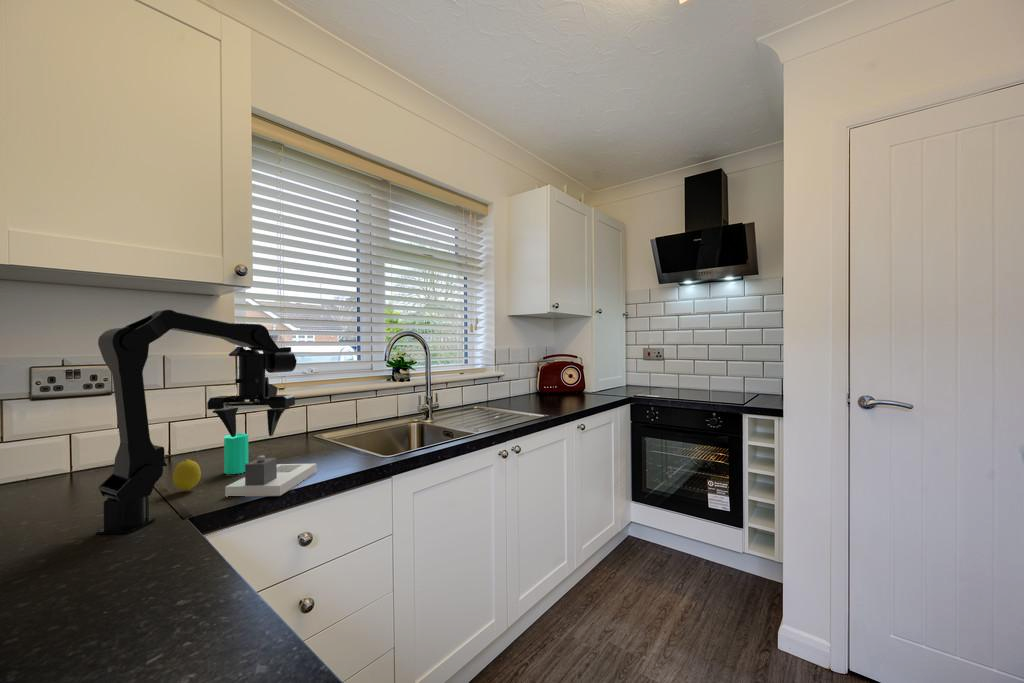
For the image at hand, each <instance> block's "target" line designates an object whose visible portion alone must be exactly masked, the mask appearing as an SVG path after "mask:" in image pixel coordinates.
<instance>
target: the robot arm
mask: <svg viewBox="0 0 1024 683" xmlns="http://www.w3.org/2000/svg"><path fill="white" fill-rule="evenodd" d="M170 330H172V331H177V332H183V333H188V334H193V335H200V336H205V337H212V338H218V339H222V340H224V341H225V342H228V343H230V344H233V345H236V347H235V348H234V350H232V351H231V352H230V353H229V354H228V356H229V357H238V378H235V379H234V380H235V384H238V395H218V396H214V397H209V399H208V401H207V402H206V404H207V405H206V406H207V408H206V409H207V410H212V413H213V414H216V415H217V417H218V418H219V419H220V420H221V422H222V423H223V425H224V426H225V428H226V430H227V432H228V433H229V435H231V437H235V436H236V430H237V413H238V410H239V407H242V406H268V407H269V409H267V410H266V416H267V419H266V420H267V430H268V436H269V437H273V436H274V433H275V431H276V428H277V426H278V423H279V420H280V418H281V416H282V414H283V413H284V412H285V411H286V410H289V409H290V407H293V406H296V398H295V397H294V395H293V394H278V389H279V387H277V386H275V385H273V384H270V383H269V381H270V380H269V377H267V376H266V372H267V373H269V374H271V373H272V374H274V373H291V372H293V371H294V370H295V369H296V366H297V358H296V356H295V354H294V352H293V351H292V347H291V346H282V347H278V345H277V344H276V342H275V341H274V339H273V338H272V337H271V335H270V332H269V330H268V329H267V326H265V325H263V324H260V323H238V322H237V323H233V322H232V323H231V322H227V321H226V322H225V321H222V320H218V319H217V320H216V319H211V318H207V317H201V316H197V315H194V314H193V315H191V314H187V313H183V312H179V311H176V310H173V309H161V310H157V311H155V312H153V313H151V314H149V315H148V316H146V317H143V318H141V319H139V320H137V321H135V322H132V323H129V324H127V325H125V326H124V327H117V328H116V327H115V328H110V329H108V330H105V331H104V332H103V333H102V334H101V335H100V336H99V337H98V341H97V345H98V349H99V351H100V354H101V356H102V359H103V361H104V363H105V365H106V366H107V368H108V370H110V372H111V376H112V383H113V391H114V399H115V408H116V416H117V417H116V418H117V425H118V433H119V442H120V443H119V447H118V449H117V452H116V454H115V457H114V464H113V465H114V466H113V472H112V473H111V475H109V476H108V477H107V478H106V479H105V480H104V481H103V482H101V483H100V485H99V486H98V487H97V490H98V491H99V493H100V495H101V496H102V497H106V500H104V501H103V527H102V528H100V529H98V530H97V529H96V530H95V532H94V533H95V535H105V534H106V535H108V534H109V535H113V534H120V535H121V534H129V533H132V532H134V531H136V530H138V529H140V528H142V527H144V526H146V525H149V524H150V523H152V522H154V521H156V517H149V516H150V515H149V514H150V513H149V512H150V510H149V509H150V504H149V500H150V498H149V497H150V496H151V494H152V493H153V489H154V487H155V484H156V483H157V482H158V481H159V480H160V478H161V477H162V476H164V475H163V474H164V468H165V467H168V464H167V463H166V460H165V451H166V450H165V447H164V446H160V445H155V444H153V442H152V440H151V436H150V427H149V419H148V417H149V416H148V408H147V401H146V400H147V399H146V391H145V383H144V374H143V372H144V368H145V366H146V363H147V360H148V358H149V352H150V351H149V349H150V348H149V347H150V344H151V343H153V342H155V341H156V340H158V339H160V338H161V337H163V336H164V335H165V334H166V333H168V332H169V331H170ZM245 348H248V349H245ZM260 352H262V353H260ZM237 406H238V407H237Z"/></svg>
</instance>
